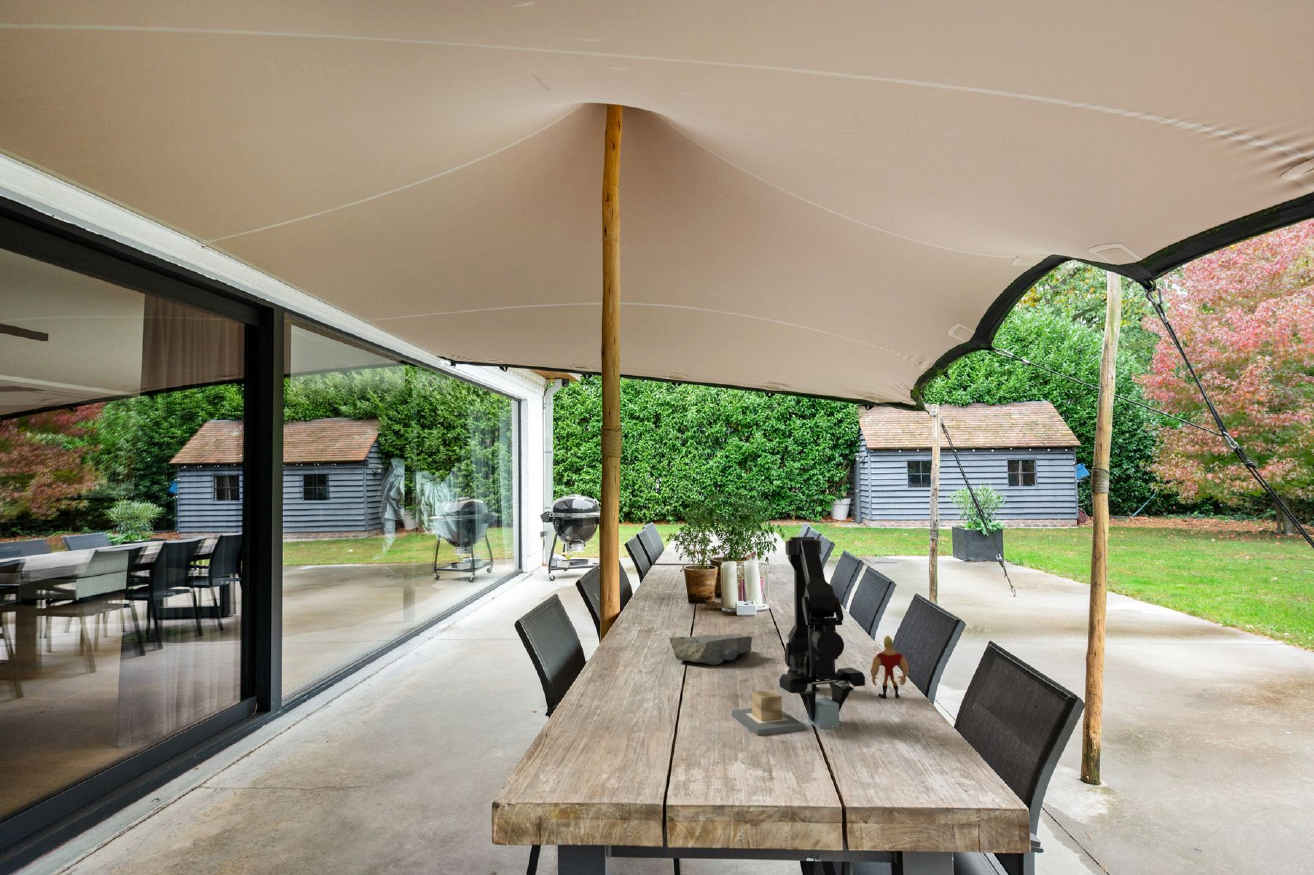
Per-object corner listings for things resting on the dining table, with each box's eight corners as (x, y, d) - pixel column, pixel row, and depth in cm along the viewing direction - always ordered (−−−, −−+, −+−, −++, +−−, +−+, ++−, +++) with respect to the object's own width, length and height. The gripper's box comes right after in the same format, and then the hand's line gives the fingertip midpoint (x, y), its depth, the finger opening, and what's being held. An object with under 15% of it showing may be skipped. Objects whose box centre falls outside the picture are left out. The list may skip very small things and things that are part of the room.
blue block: (827, 719, 167) (826, 697, 167) (839, 726, 162) (838, 703, 162) (807, 722, 165) (807, 699, 166) (819, 729, 161) (818, 706, 161)
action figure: (906, 694, 185) (904, 634, 186) (911, 699, 181) (909, 637, 182) (868, 695, 185) (866, 634, 186) (873, 699, 181) (871, 637, 182)
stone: (656, 635, 222) (698, 620, 243) (657, 663, 222) (698, 646, 243) (725, 643, 210) (763, 627, 231) (726, 673, 209) (763, 654, 230)
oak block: (772, 712, 168) (771, 690, 168) (782, 719, 163) (781, 696, 164) (752, 714, 167) (751, 692, 167) (761, 721, 162) (761, 698, 162)
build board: (774, 710, 173) (774, 705, 173) (803, 729, 160) (803, 723, 160) (731, 715, 170) (731, 710, 170) (757, 735, 157) (757, 729, 157)
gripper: (839, 637, 175) (840, 704, 174) (767, 644, 170) (769, 713, 169) (865, 647, 164) (867, 719, 164) (790, 654, 159) (792, 728, 158)
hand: (823, 719), depth 164 cm, fingers open, 5 cm apart
